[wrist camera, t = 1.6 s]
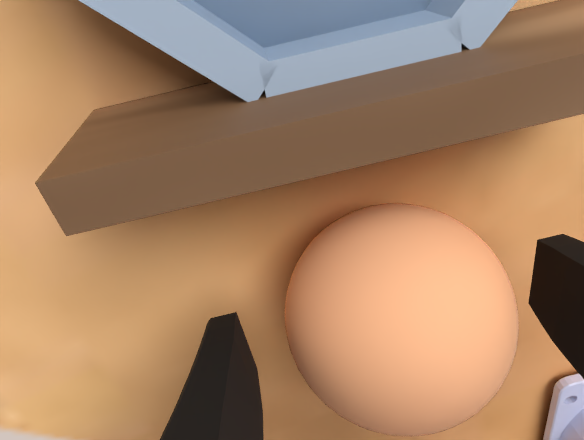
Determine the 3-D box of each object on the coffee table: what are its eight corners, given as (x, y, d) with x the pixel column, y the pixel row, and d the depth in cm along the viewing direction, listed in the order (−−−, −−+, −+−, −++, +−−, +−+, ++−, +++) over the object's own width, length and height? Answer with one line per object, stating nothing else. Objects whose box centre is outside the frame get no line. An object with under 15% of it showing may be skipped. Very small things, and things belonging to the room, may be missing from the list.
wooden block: (577, 42, 10) (721, 81, 7) (112, 151, 10) (65, 235, 7) (585, -6, 10) (743, 15, 7) (93, 110, 10) (35, 183, 7)
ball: (453, 294, 14) (557, 453, 10) (294, 332, 14) (325, 509, 10) (454, 145, 11) (601, 274, 7) (255, 192, 11) (273, 352, 7)
